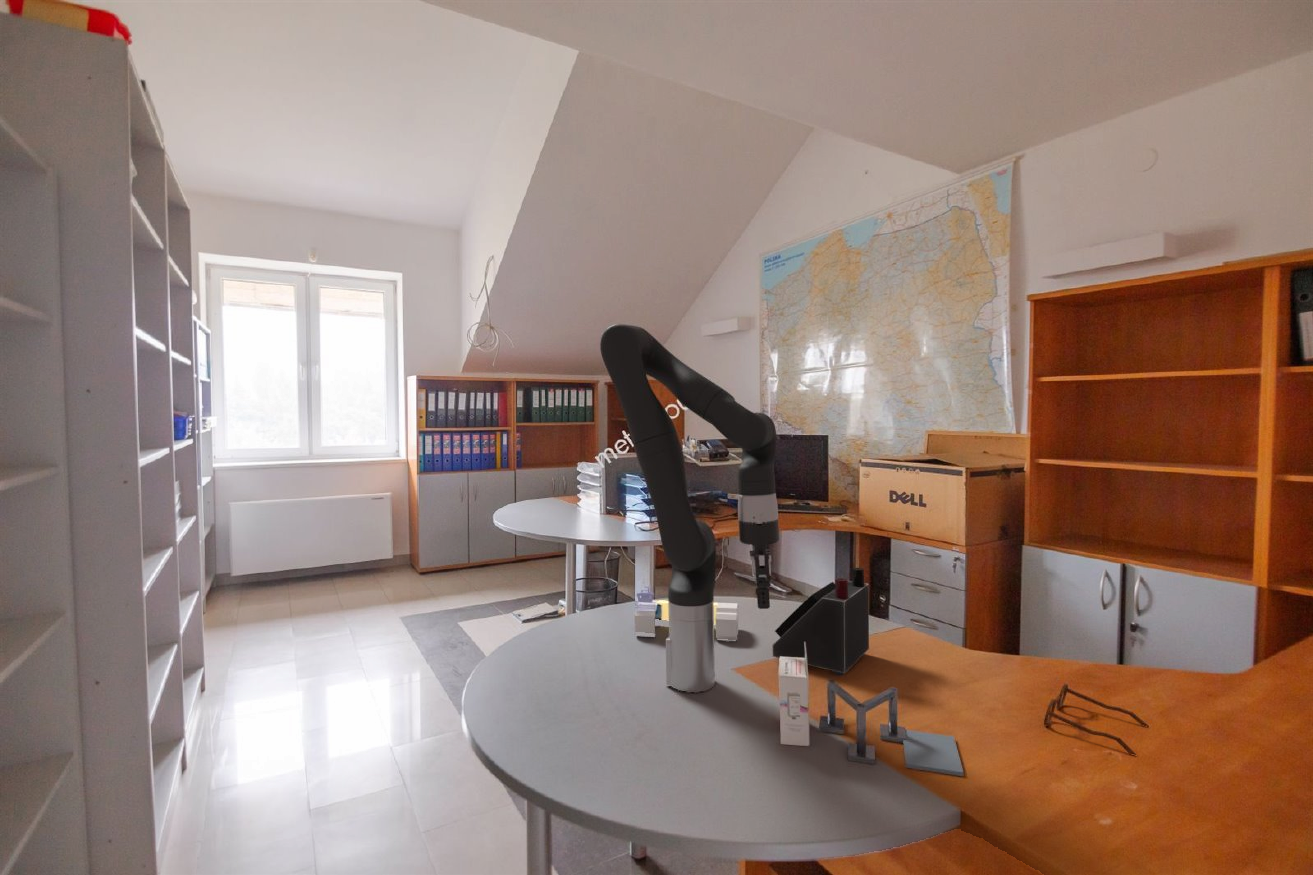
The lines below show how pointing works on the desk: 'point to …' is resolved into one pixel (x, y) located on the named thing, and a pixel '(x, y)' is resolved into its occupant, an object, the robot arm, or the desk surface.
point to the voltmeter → (829, 626)
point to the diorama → (658, 609)
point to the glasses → (1059, 705)
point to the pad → (932, 753)
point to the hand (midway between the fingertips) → (762, 601)
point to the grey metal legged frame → (862, 721)
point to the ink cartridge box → (794, 700)
